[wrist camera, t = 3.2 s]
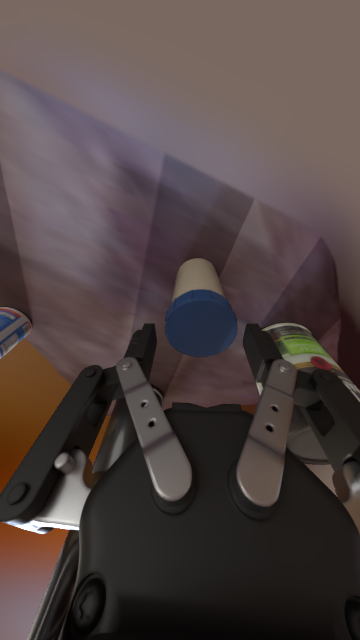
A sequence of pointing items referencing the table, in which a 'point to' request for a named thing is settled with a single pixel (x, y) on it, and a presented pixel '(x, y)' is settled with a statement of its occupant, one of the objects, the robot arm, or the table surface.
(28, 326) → the pill bottle
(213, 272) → the jar
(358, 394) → the coffee can
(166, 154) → the table surface
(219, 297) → the lid
